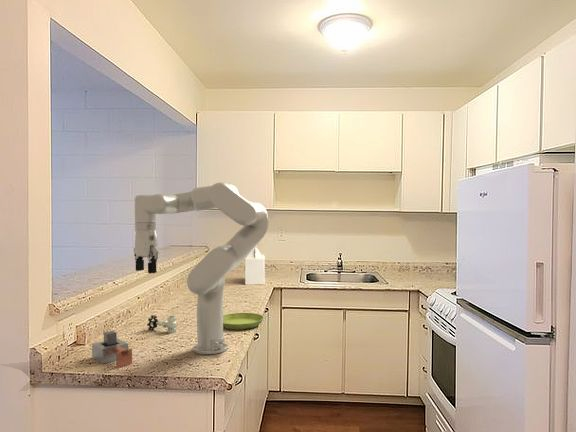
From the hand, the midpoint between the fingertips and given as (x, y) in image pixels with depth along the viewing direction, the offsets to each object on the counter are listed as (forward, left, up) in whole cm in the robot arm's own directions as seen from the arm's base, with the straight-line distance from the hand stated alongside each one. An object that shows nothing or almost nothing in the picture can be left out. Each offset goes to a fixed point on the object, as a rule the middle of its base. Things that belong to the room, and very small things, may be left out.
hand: (145, 271), depth 171 cm
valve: (+12, -14, -29) cm, 34 cm away
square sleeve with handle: (-7, +16, -28) cm, 33 cm away
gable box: (+76, -122, -29) cm, 147 cm away
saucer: (-3, -44, -29) cm, 53 cm away
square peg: (-4, +16, -28) cm, 33 cm away
